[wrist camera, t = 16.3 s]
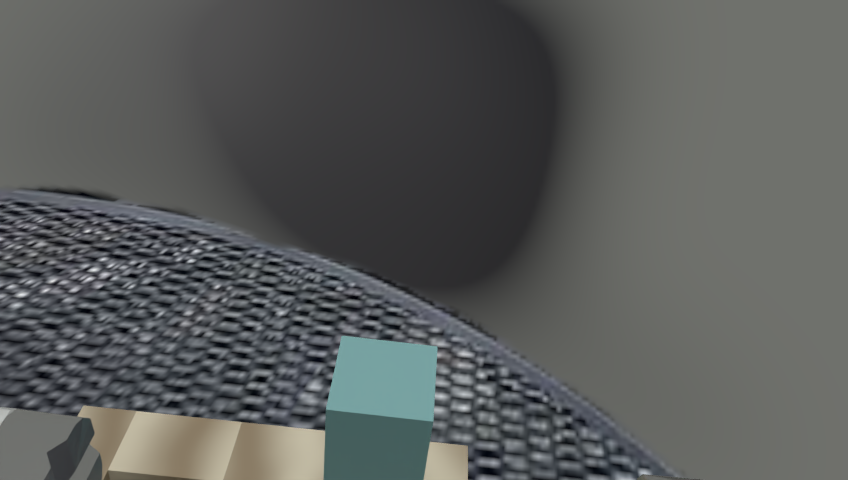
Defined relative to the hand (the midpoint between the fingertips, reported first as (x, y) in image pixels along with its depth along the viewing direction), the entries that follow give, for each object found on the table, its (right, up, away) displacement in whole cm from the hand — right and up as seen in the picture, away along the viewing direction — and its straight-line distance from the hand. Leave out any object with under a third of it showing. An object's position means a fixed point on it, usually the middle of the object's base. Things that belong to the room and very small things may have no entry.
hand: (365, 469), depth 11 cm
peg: (-2, -12, +24) cm, 27 cm away
